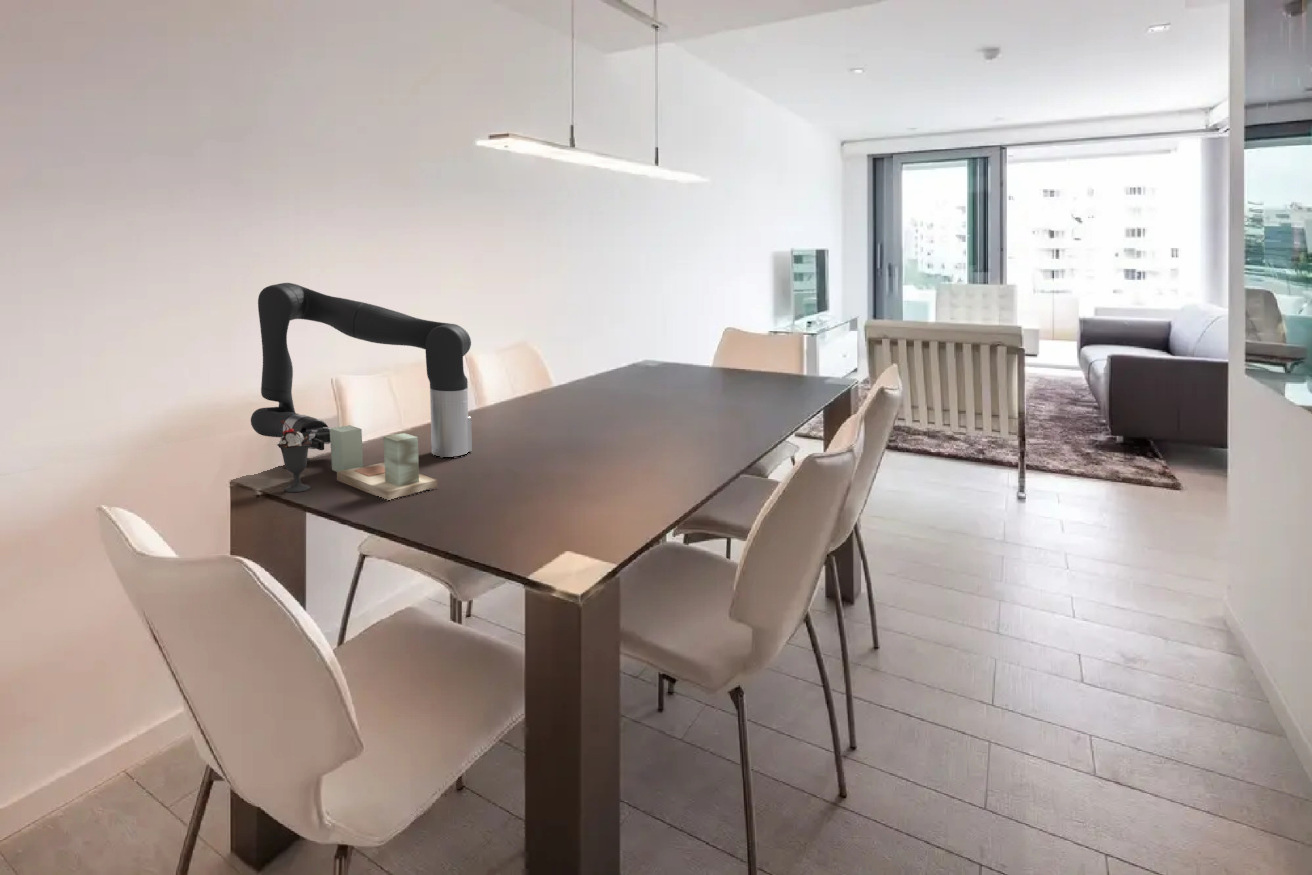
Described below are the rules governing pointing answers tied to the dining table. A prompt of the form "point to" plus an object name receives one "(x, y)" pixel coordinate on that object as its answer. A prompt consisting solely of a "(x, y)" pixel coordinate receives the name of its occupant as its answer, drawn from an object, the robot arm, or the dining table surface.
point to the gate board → (381, 484)
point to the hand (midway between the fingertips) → (340, 442)
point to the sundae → (295, 456)
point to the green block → (346, 448)
